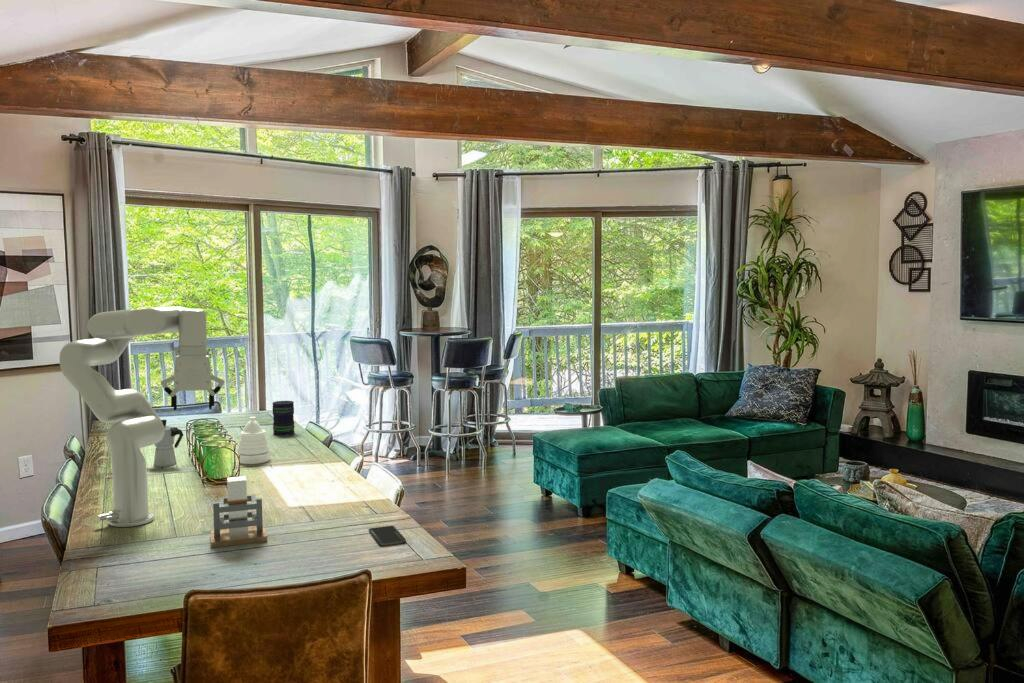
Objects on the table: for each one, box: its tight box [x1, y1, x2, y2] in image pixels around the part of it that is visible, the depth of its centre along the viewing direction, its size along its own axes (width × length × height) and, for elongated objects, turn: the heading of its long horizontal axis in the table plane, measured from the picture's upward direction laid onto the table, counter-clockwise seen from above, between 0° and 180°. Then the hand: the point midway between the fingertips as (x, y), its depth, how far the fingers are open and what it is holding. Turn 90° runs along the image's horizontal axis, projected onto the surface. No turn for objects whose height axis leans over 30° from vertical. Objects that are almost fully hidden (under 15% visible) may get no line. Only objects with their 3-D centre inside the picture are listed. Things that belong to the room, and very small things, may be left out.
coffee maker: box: [153, 419, 184, 468], centre depth 324 cm, size 15×9×18 cm, turn 76°
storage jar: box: [272, 400, 296, 437], centre depth 385 cm, size 10×10×15 cm
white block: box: [226, 475, 249, 537], centre depth 234 cm, size 5×5×16 cm
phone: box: [368, 525, 407, 548], centre depth 235 cm, size 8×1×15 cm
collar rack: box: [210, 494, 268, 548], centre depth 234 cm, size 15×11×11 cm
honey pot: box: [236, 416, 271, 465], centre depth 331 cm, size 13×13×18 cm
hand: (192, 409), depth 239 cm, fingers open, 9 cm apart
